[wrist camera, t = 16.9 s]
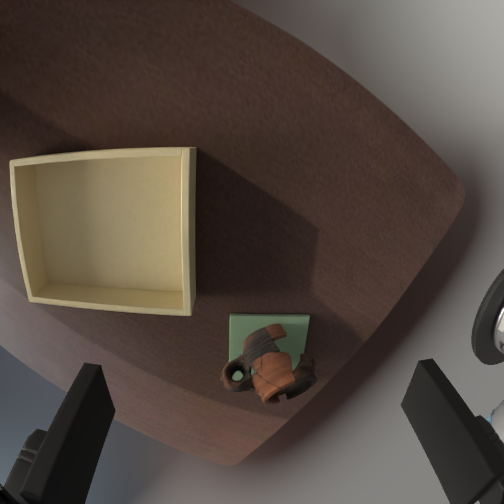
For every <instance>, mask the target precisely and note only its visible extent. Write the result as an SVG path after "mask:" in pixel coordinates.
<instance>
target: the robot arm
mask: <svg viewBox="0 0 504 504" xmlns="http://www.w3.org/2000/svg"><path fill="white" fill-rule="evenodd" d="M491 340H492V343H493V345H494V346H495V347H496V348H497V349H498V350H499V351H500V352H502V353H504V300H503V302H502V304H501V305H500V307H499V309H498V311H497V314H496V316H495V319H494V322H493V325H492V331H491ZM401 406H402V408H403V410H404V412H405V414H406V416H407V418H408V420H409V422H410V423H411V425H412V427H413V429H414V431H415V433H416V435H417V437H418V439H419V441H420V443H421V445H422V447H423V449H424V450H425V453H426V454H427V457H428V458H429V460H430V463H431V465H432V467H433V469H434V471H435V473H436V475H437V477H438V479H439V481H440V483H441V485H442V487H443V489H444V491H445V493H446V496H447V498H448V500H449V502H450V504H474V503H475V502H476V501H478V500H479V502H480V504H504V400H503V401H502V402H501V403H500V405H499V406H498V407H497V408H496V409H494V410H493V411H492V412H491V414H490V416H489V417H488V418H487V419H484V418H483V417H482V416H481V415H479V416H476V417H475V416H474V415H473V413H472V412H471V411H470V409H469V408H468V406H467V405H466V403H465V402H464V401H463V399H462V398H461V396H460V395H459V394H458V392H457V391H456V389H455V388H454V387H453V385H452V384H451V383H450V381H449V380H448V379H447V377H446V376H445V375H444V373H443V372H442V371H441V369H440V368H439V367H438V365H437V364H436V363H435V361H434V360H433V359H426V360H421V361H418V364H417V367H416V369H415V372H414V374H413V377H412V379H411V382H410V385H409V387H408V389H407V392H406V394H405V396H404V399H403V401H402V403H401ZM114 414H115V408H114V405H113V402H112V399H111V396H110V393H109V390H108V387H107V384H106V381H105V378H104V374H103V371H102V368H101V365H97V364H89V363H84V364H83V366H82V368H81V370H80V371H79V373H78V375H77V377H76V379H75V380H74V382H73V384H72V386H71V388H70V389H69V391H68V393H67V395H66V397H65V399H64V401H63V402H62V404H61V406H60V408H59V410H58V412H57V414H56V416H55V418H54V420H53V422H52V424H51V426H50V428H49V430H48V432H47V431H43V430H40V429H37V430H35V431H34V432H33V433H32V434H31V435H30V436H29V437H28V438H27V440H26V442H25V444H24V446H23V450H21V452H20V454H19V458H17V460H16V462H15V464H14V466H13V468H12V470H11V472H10V474H9V477H8V479H7V481H6V483H5V485H4V487H3V486H2V485H1V484H0V504H85V501H86V498H87V494H88V491H89V488H90V485H91V482H92V479H93V475H94V472H95V469H96V466H97V463H98V460H99V457H100V454H101V451H102V448H103V445H104V442H105V439H106V436H107V433H108V431H109V428H110V425H111V422H112V419H113V417H114Z"/></svg>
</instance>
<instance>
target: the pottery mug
mask: <svg viewBox="0 0 504 504" xmlns="http://www.w3.org/2000/svg"><path fill="white" fill-rule="evenodd" d="M286 336H287V333H286V331H285V330H284V329H283V327H282V326H281V324H279V323H278V324H272V325H268V326H266V327H263V328H260V329H258V330H256V331H254V332H253V333H251V334H250V335H248V336H247V338H246V339H245V340H244V342H243V354H242V355H241V354H240V355H239V356H238V357H237V358H236V359H234V360H232V361H231V362H229V363H228V364H227V365H226V366H225V367H224V369H223V370H222V373H221V381H222V382H223V383H224V386H225V387H226V388H227V389H228V390H230V391H233V392H242V391H255V393H256V394H257V395H259V396H261V398H262V402H263V403H265V404H274V403H278V402H280V400H279V398H278V396H280V395H282V394H284V393H286V396H287V399H291V398H294V397H296V396H298V395H300V394H302V393H303V392H305V391H306V390H308V389H309V388H310V387H312V386H313V385H314V384H315V383H316V381H317V378H316V377H315V375H314V371H315V366H316V361H315V358H313V359H312V363H311V361H310V360H309V357H308V355H306V354H303V353H301V354H300V361H299V363H298V365H297V367H296V368H295V369H294V370H293V371H292V361H291V356H290V355H289V354H288V353H286V352H280V349H279V348H278V347H277V346H276V344H275V343H274V341H275V340H277V339H280V338H284V337H286ZM251 367H252V368H253V370H254V371H255V372H256V373H254V374H253V375H251ZM236 371H240V372H241V373H242V375H243V377H242V378H241V379H240V380H238V381H235V380H233V379H232V377H233V375H234V373H235V372H236Z"/></svg>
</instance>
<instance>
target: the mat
mask: <svg viewBox="0 0 504 504" xmlns="http://www.w3.org/2000/svg"><path fill="white" fill-rule="evenodd" d="M309 319H310V316H309V314H237V313H230V348H229V362H231V361H232V360H234V359H236V358H237V357H238V356H239V355H240V354H241V355H242V354H243V342H244V340H245V339H246V338H247V336H248V335H250V334H251V333H253V332H254V331H256V330H258V329H260V328H263V327H266V326H268V325H272V324H278V323H279V324H281V326H282V327H283V329H284V330H285V331H286V333H287V336H286V337H284V338H280V339H277V340H275V341H274V343H275V344H276V346H277V347H278V348H279V349H280V352H286V353H288V354H289V355H290V356H291V361H292V371H293V370H294V369H295V368H296V367H297V365H298V363H299V361H300V354H301V353H303V354H304V350H305V344H306V338H307V331H308V325H309ZM254 373H256V372H255V371H254V370H253V368H252V367H251V375H253V374H254ZM242 377H243V375H242V373H241V372H240V371H236V372H235V373H234V375H233V377H232V379H233V380H235V381H238V380H240V379H241V378H242Z"/></svg>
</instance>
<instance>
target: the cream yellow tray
mask: <svg viewBox="0 0 504 504" xmlns="http://www.w3.org/2000/svg"><path fill="white" fill-rule="evenodd" d="M196 149H197V147H153V148H125V149H107V150H92V151H79V152H68V153H58V154H48V155H40V156H32V157H26V158H20V159H15V160H10V178H11V193H12V204H13V214H14V222H15V230H16V237H17V243H18V249H19V255H20V261H21V266H22V271H23V276H24V281H25V285H26V290H27V294H28V298H29V301H30V302H36V303H44V304H52V305H60V306H69V307H78V308H88V309H98V310H109V311H121V312H133V313H147V314H162V315H179V316H184V315H185V316H191V315H192V311H193V306H194V302H195V298H196V267H195V191H196Z"/></svg>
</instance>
